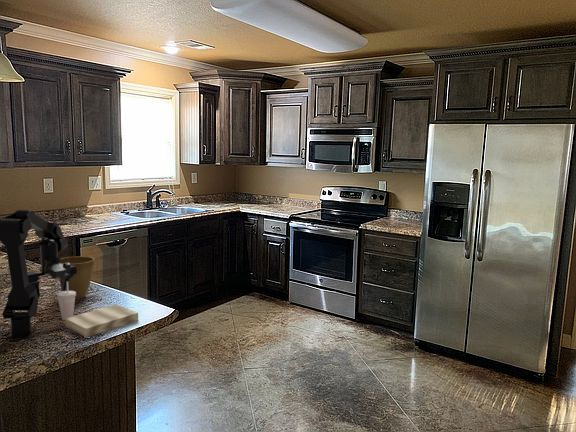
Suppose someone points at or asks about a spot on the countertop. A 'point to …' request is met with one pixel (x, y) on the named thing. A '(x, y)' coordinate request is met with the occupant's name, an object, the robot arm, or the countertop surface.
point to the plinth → (101, 320)
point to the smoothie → (66, 303)
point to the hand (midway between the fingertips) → (50, 295)
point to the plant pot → (79, 274)
